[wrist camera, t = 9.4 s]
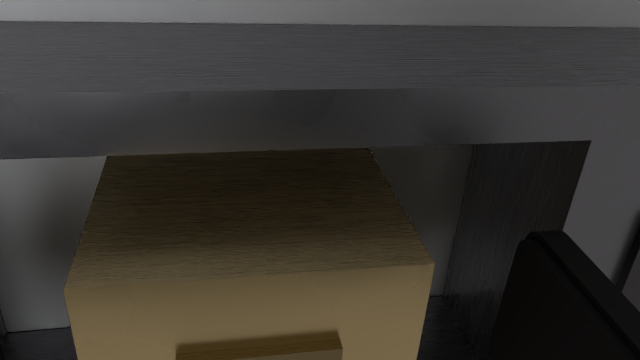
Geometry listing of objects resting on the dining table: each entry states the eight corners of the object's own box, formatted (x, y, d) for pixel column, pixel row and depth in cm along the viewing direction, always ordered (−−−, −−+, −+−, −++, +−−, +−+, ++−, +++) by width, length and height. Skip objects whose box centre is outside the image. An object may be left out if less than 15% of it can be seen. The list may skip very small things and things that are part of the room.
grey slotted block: (754, 29, 14) (945, 85, 10) (636, 302, 18) (742, 408, 15) (-484, 16, 9) (-908, 110, 6) (-249, 386, 14) (-407, 570, 10)
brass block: (344, 107, 13) (440, 272, 8) (330, 275, 16) (396, 488, 10) (122, 111, 12) (59, 300, 7) (144, 288, 15) (110, 530, 9)
